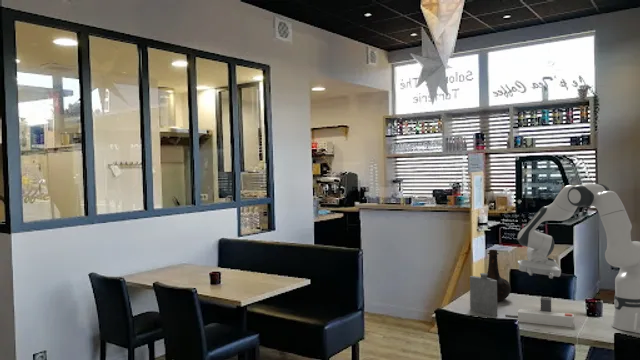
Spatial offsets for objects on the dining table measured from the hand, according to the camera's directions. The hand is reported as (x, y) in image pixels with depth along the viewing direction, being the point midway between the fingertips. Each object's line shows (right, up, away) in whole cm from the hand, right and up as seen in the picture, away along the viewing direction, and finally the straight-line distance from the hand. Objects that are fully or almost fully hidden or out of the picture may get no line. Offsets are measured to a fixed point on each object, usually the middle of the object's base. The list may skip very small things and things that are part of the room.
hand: (541, 275), depth 266 cm
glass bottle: (-14, -19, +30) cm, 38 cm away
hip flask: (-28, -20, +4) cm, 34 cm away
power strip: (-8, -19, -15) cm, 26 cm away
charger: (-2, -19, -11) cm, 22 cm away
